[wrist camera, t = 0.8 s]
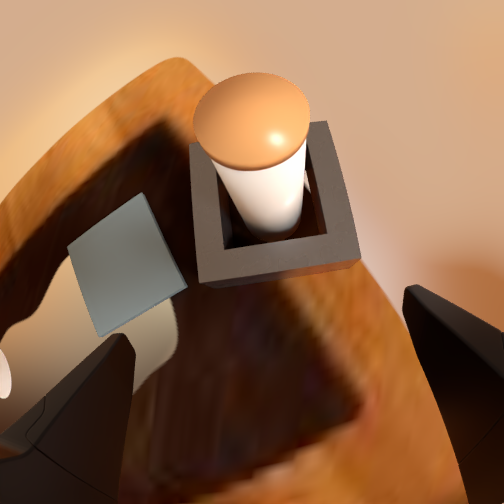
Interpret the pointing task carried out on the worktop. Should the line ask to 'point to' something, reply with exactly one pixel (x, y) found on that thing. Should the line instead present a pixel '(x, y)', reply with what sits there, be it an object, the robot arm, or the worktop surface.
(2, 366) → the champagne flute
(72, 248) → the pad
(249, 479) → the worktop surface
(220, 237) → the frame
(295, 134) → the plug
